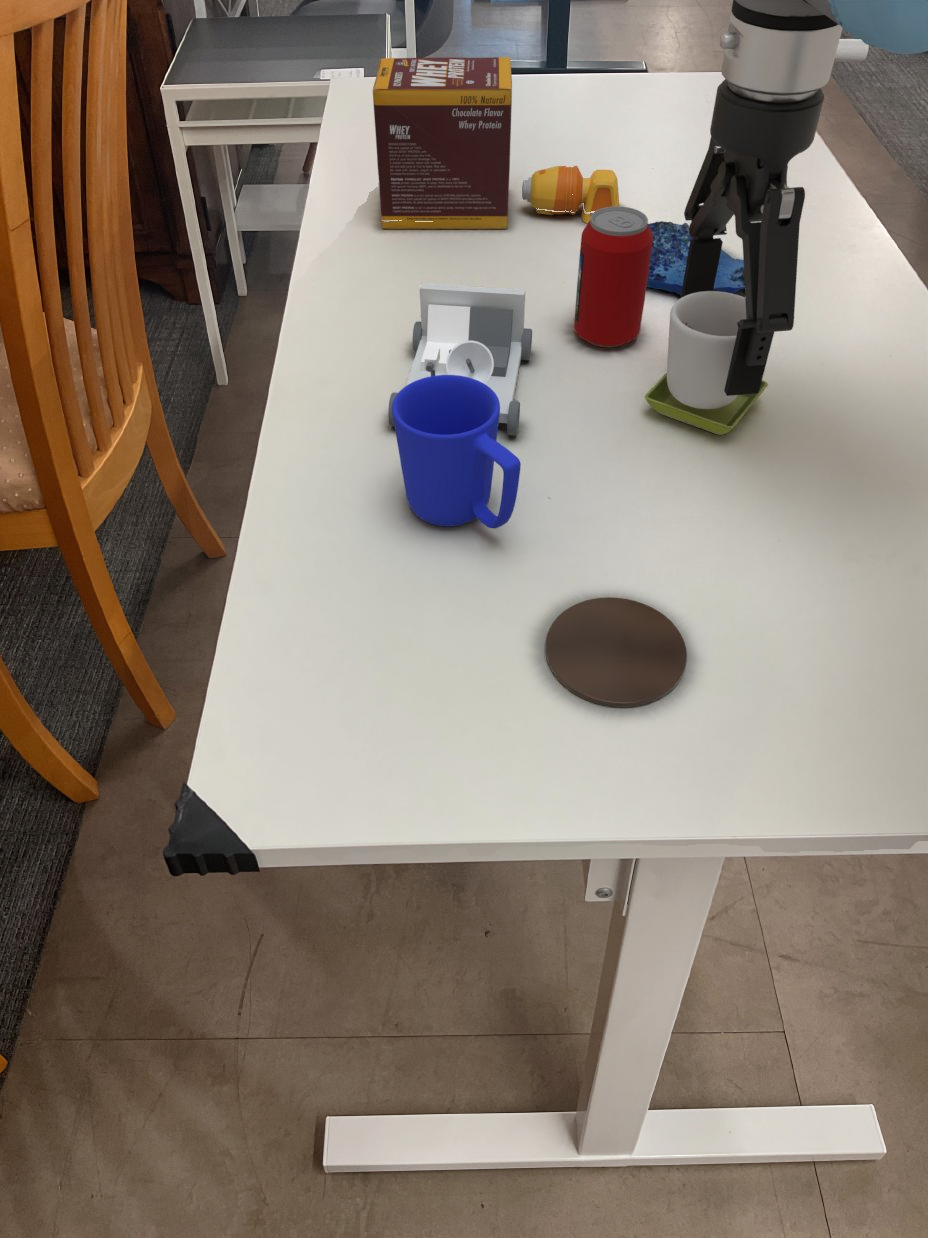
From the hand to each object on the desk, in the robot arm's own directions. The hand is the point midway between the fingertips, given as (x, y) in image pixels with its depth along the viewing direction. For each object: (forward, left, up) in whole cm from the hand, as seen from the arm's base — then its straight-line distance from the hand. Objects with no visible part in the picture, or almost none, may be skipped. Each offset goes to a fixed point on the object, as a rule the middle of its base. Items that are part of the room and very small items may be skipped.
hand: (716, 348), depth 82 cm
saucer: (0, 0, -7) cm, 7 cm away
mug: (-12, +24, -7) cm, 28 cm away
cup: (+1, 0, -4) cm, 4 cm away
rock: (+26, -6, -7) cm, 27 cm away
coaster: (-28, +15, -6) cm, 32 cm away
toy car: (+5, +22, -7) cm, 23 cm away
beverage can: (+14, +6, -7) cm, 17 cm away
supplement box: (+45, +19, -7) cm, 49 cm away
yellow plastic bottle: (+42, +4, -7) cm, 43 cm away
